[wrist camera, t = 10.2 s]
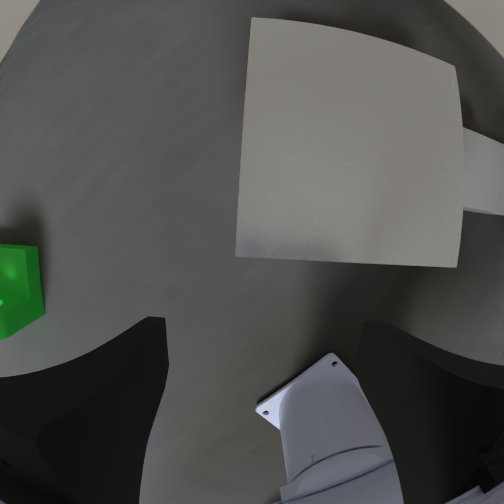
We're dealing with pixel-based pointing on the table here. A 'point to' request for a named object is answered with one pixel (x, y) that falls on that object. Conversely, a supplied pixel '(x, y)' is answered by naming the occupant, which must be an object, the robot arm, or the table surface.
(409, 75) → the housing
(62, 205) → the table surface
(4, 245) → the mechanical part
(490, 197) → the rod with pink block
